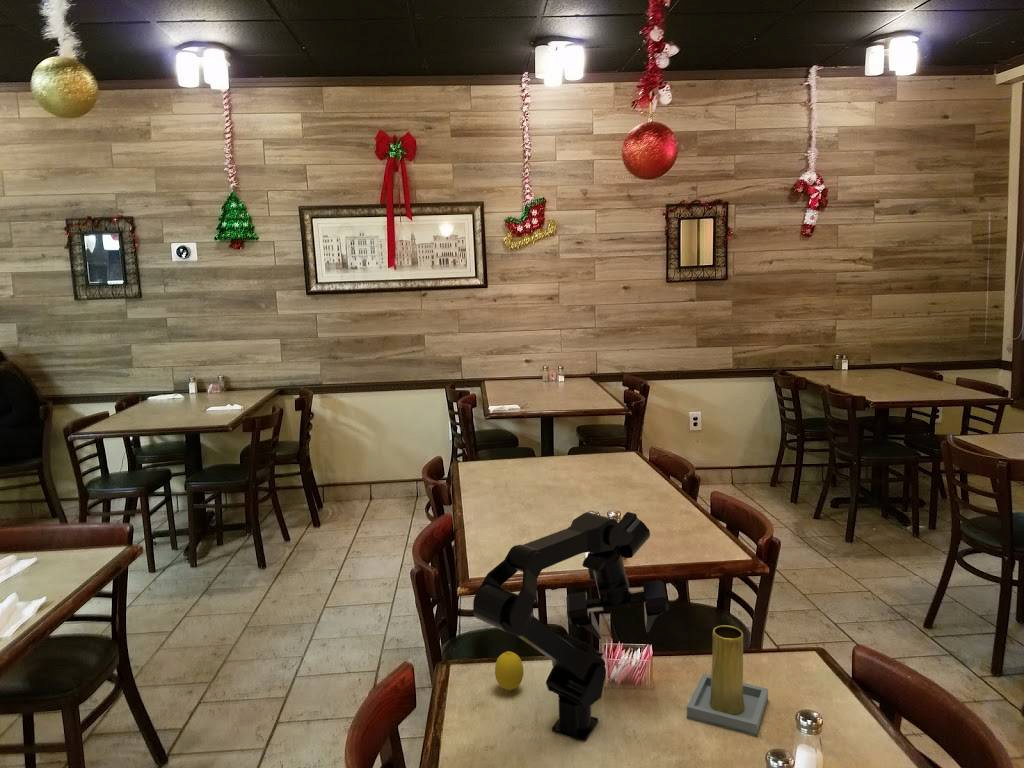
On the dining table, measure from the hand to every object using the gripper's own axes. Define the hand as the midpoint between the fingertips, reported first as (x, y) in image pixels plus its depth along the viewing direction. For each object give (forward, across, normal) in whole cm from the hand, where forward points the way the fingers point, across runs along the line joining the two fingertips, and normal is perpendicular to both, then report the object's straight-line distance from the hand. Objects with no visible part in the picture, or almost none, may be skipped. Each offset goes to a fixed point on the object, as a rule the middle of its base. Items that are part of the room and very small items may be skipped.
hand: (623, 634), depth 135 cm
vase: (+10, -16, +11) cm, 22 cm away
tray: (+11, -16, +11) cm, 22 cm away
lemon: (+5, +24, +5) cm, 25 cm away
